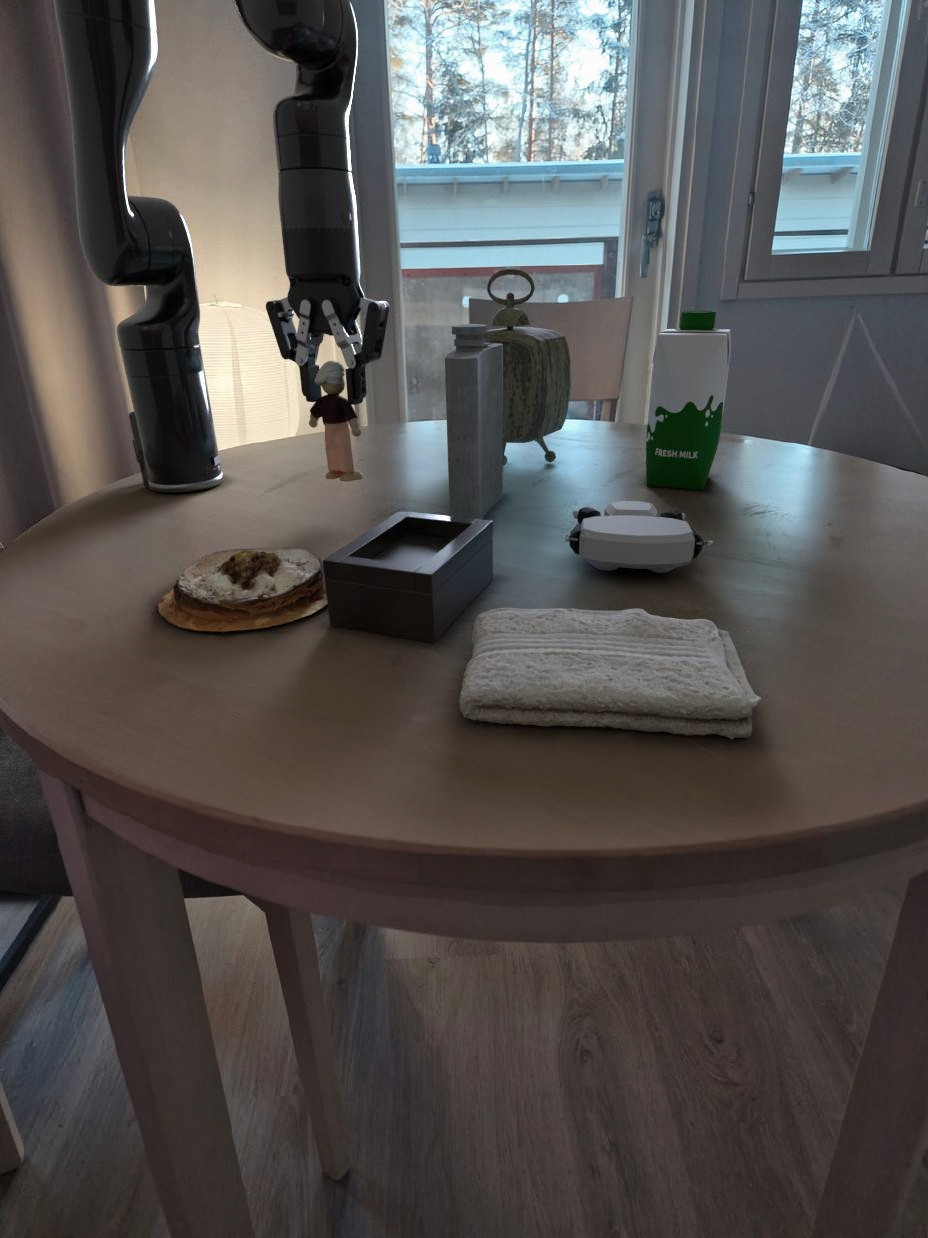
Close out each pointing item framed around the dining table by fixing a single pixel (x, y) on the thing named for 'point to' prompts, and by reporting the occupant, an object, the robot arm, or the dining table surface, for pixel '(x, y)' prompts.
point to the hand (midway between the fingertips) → (334, 401)
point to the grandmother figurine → (336, 422)
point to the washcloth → (606, 672)
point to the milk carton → (687, 401)
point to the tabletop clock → (530, 372)
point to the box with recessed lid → (409, 575)
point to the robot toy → (634, 537)
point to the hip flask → (474, 422)
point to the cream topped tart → (246, 590)
